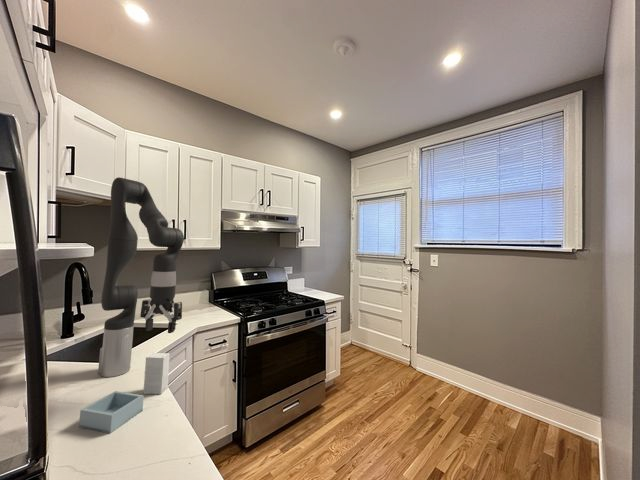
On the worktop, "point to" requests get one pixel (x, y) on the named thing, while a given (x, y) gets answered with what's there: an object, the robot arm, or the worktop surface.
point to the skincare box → (156, 373)
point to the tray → (111, 411)
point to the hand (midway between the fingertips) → (159, 331)
